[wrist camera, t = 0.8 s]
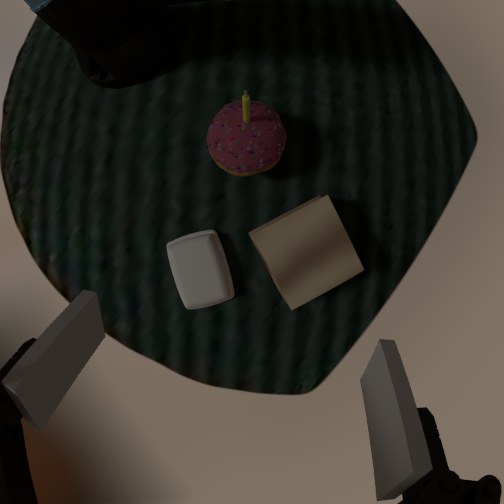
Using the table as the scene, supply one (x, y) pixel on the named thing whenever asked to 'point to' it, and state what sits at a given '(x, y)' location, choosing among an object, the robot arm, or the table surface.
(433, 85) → the table surface
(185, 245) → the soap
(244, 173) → the cupcake
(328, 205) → the pedestal
